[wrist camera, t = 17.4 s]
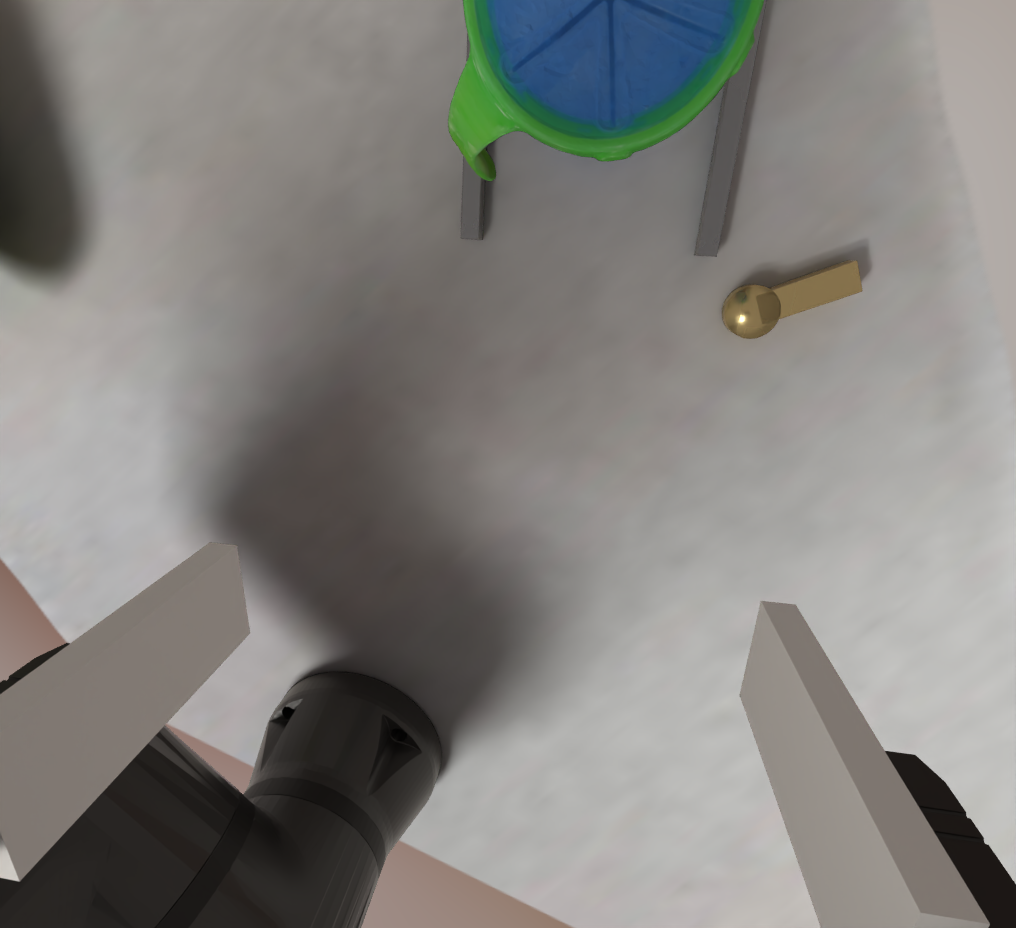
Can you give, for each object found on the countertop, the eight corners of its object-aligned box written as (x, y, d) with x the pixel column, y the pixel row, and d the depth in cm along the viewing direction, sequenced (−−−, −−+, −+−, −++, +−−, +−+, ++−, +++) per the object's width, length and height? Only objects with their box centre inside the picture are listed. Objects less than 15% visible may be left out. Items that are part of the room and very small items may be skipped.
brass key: (728, 342, 32) (732, 345, 31) (716, 295, 31) (720, 296, 30) (854, 300, 30) (864, 302, 29) (845, 249, 29) (854, 248, 28)
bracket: (465, 238, 32) (442, 236, 28) (481, -194, 25) (453, -293, 21) (712, 256, 30) (731, 257, 26) (801, -205, 24) (848, -317, 19)
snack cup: (718, -160, 24) (787, -418, 15) (802, 79, 27) (906, -14, 18) (431, 61, 29) (348, -29, 20) (524, 247, 32) (490, 244, 22)
